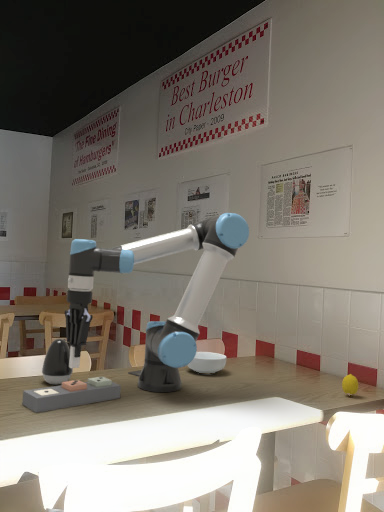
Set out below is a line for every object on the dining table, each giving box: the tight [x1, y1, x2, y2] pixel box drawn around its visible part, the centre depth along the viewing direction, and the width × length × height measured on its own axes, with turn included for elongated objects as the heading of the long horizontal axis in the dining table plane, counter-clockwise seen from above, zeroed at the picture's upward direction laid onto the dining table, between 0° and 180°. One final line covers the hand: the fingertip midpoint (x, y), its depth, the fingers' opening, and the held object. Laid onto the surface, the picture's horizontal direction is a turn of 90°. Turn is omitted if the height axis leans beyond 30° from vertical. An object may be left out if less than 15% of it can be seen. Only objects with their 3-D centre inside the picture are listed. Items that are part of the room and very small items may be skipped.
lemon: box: [341, 373, 359, 395], centre depth 172 cm, size 6×6×8 cm
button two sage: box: [86, 376, 113, 388], centre depth 153 cm, size 6×6×3 cm
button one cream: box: [33, 389, 59, 396], centre depth 140 cm, size 6×6×3 cm
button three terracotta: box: [61, 379, 87, 392], centre depth 147 cm, size 6×6×3 cm
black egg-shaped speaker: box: [41, 338, 74, 386], centre depth 167 cm, size 10×10×15 cm
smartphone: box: [127, 369, 142, 378], centre depth 190 cm, size 7×1×15 cm
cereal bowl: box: [186, 351, 227, 374], centre depth 197 cm, size 17×17×7 cm
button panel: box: [21, 381, 122, 414], centre depth 147 cm, size 28×9×4 cm, turn 133°
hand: (74, 367), depth 147 cm, fingers closed
